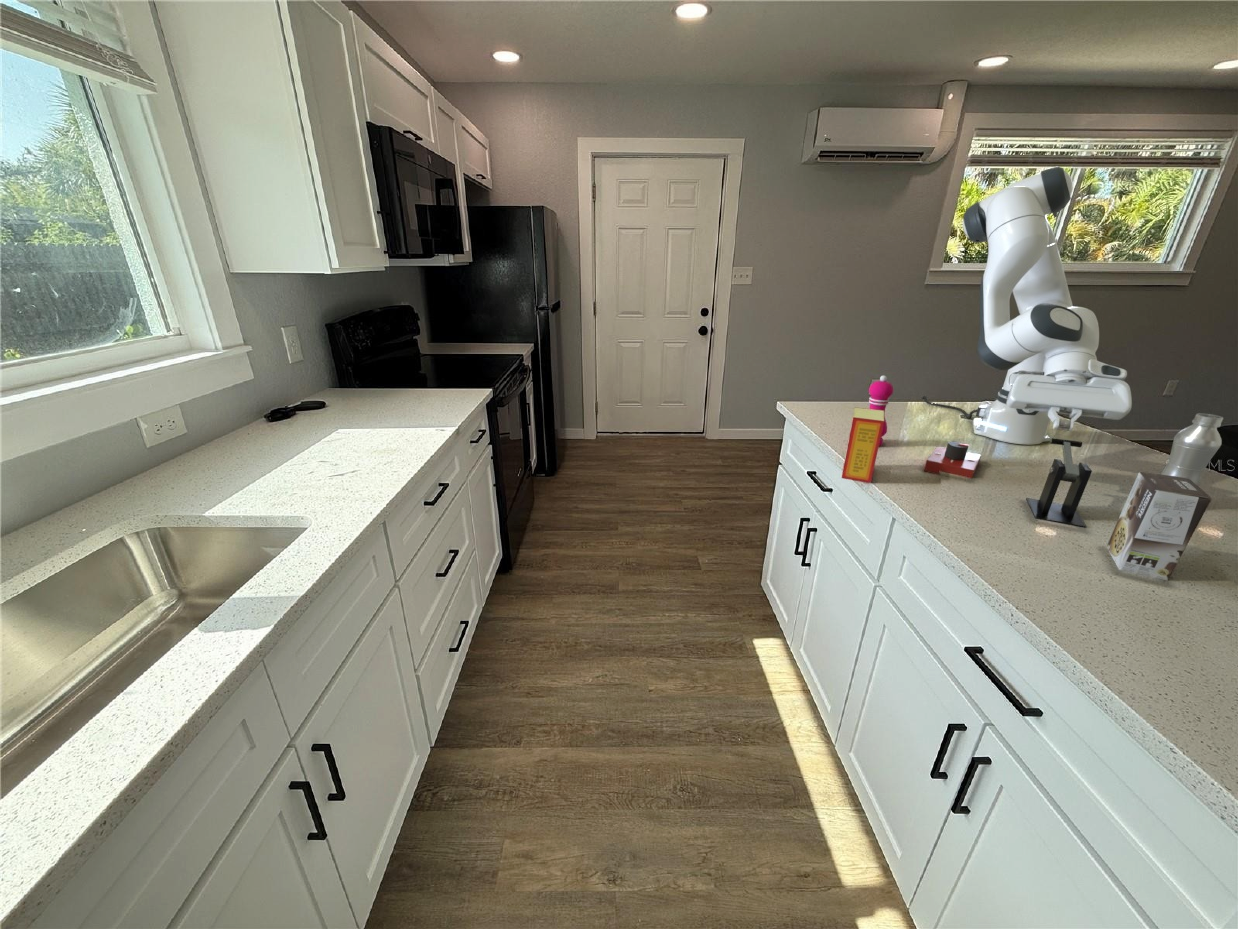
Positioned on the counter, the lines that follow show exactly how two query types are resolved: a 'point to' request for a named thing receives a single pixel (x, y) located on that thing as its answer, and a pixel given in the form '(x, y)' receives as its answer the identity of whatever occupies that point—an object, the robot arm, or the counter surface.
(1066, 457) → the press lever
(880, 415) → the baking soda box
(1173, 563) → the coffee box
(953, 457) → the dial
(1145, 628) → the counter surface
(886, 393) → the pepper mill
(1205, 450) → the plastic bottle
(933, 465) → the dial panel
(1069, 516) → the bracket
